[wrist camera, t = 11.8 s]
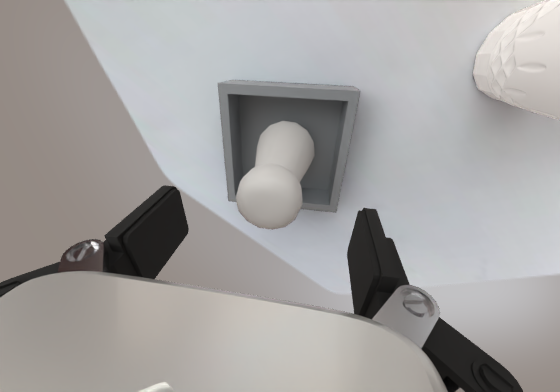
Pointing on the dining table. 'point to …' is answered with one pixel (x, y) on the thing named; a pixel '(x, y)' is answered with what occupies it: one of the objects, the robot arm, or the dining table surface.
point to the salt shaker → (276, 176)
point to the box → (294, 108)
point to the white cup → (524, 60)
